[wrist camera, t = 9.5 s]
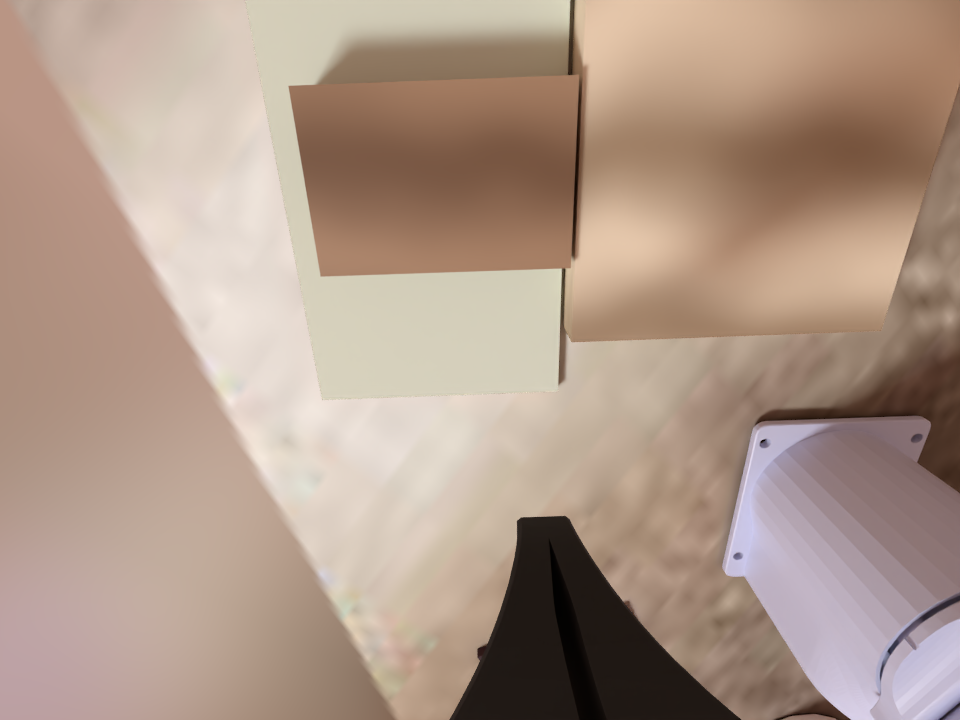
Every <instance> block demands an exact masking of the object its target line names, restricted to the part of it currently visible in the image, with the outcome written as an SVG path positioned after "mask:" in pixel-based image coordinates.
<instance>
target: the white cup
mask: <svg viewBox="0 0 960 720" xmlns="http://www.w3.org/2000/svg"><path fill="white" fill-rule="evenodd" d="M781 720H837V719H835V718H833V717H828V716H823V715H818V714H806V715H796V716H790V717H787V718H784V719H781Z"/></svg>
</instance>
